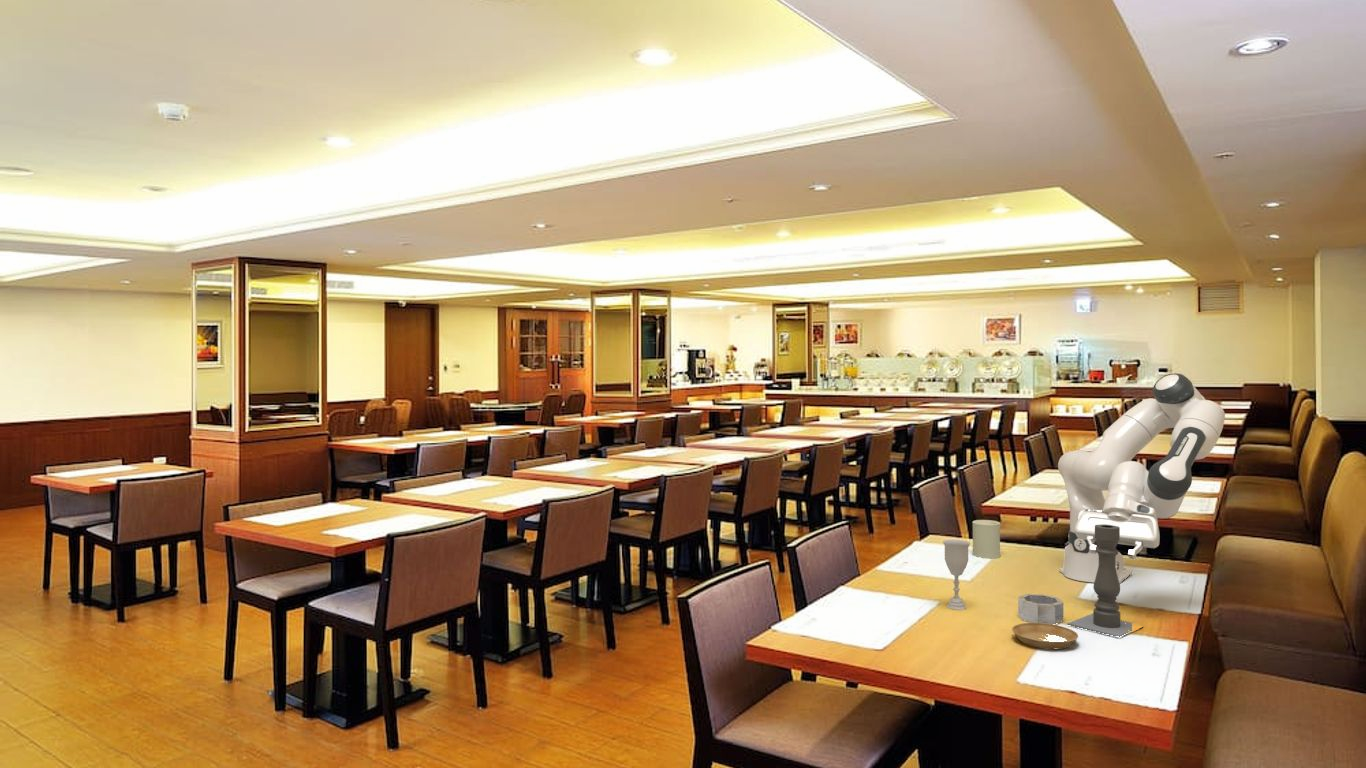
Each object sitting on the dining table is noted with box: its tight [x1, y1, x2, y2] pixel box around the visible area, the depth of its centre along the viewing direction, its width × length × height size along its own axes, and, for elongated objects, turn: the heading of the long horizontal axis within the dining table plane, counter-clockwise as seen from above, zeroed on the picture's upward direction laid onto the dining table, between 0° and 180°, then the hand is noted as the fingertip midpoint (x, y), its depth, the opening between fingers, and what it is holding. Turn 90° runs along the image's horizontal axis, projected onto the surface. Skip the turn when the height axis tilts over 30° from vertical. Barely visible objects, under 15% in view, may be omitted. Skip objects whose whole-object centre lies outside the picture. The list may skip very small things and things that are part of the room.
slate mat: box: [1066, 613, 1133, 637], centre depth 214 cm, size 13×13×1 cm
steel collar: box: [1017, 593, 1064, 625], centre depth 222 cm, size 10×10×5 cm
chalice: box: [942, 538, 971, 611], centre depth 233 cm, size 7×7×18 cm
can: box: [971, 519, 1002, 559], centre depth 292 cm, size 9×9×12 cm
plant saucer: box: [1011, 622, 1079, 650], centre depth 204 cm, size 15×15×3 cm
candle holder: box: [1092, 524, 1121, 628], centre depth 214 cm, size 6×6×25 cm
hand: (1111, 554), depth 222 cm, fingers open, 8 cm apart
